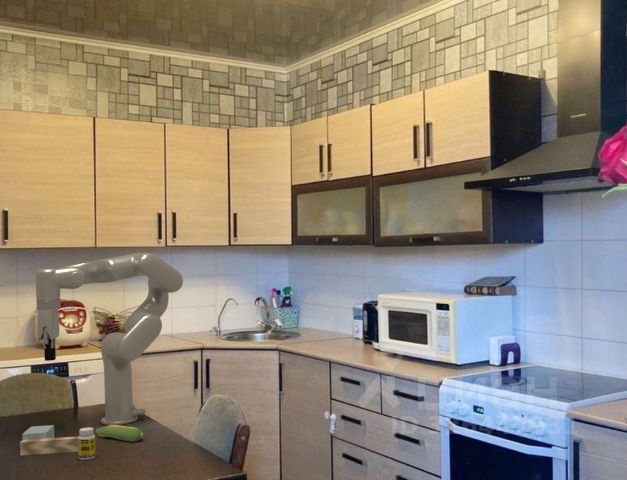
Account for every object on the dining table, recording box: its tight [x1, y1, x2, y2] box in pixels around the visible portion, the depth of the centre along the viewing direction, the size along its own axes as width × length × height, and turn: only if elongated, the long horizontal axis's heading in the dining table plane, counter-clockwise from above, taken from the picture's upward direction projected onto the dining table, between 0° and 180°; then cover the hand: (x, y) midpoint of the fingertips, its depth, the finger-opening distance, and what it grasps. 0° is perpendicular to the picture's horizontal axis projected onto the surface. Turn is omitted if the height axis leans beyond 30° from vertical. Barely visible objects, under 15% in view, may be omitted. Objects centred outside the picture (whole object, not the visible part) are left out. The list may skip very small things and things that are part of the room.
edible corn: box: [94, 424, 144, 443], centre depth 221 cm, size 5×20×5 cm, turn 60°
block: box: [21, 424, 55, 440], centre depth 213 cm, size 7×9×6 cm
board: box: [19, 436, 79, 457], centre depth 208 cm, size 20×2×4 cm, turn 96°
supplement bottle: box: [77, 427, 96, 461], centre depth 201 cm, size 5×5×8 cm
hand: (50, 360), depth 228 cm, fingers closed
